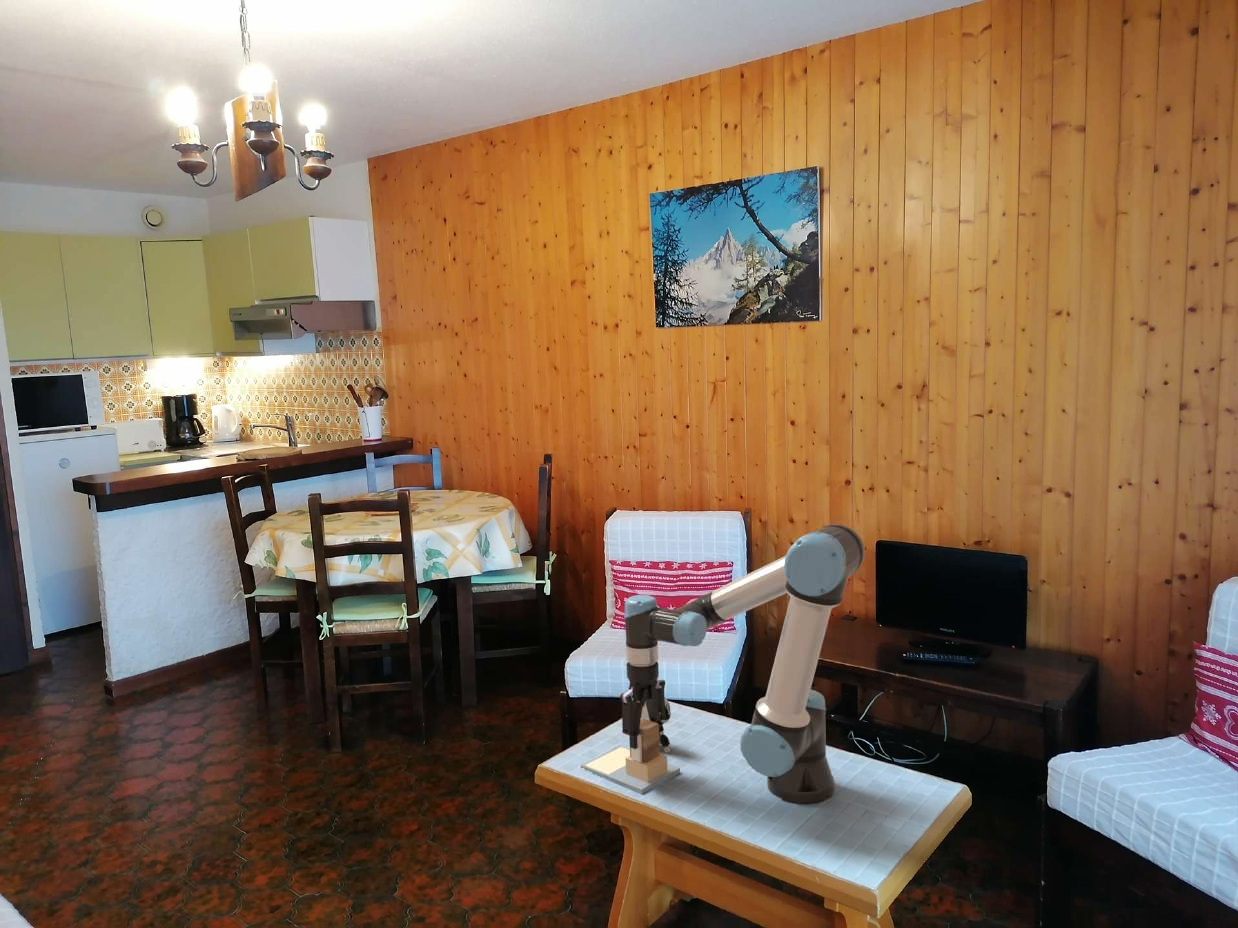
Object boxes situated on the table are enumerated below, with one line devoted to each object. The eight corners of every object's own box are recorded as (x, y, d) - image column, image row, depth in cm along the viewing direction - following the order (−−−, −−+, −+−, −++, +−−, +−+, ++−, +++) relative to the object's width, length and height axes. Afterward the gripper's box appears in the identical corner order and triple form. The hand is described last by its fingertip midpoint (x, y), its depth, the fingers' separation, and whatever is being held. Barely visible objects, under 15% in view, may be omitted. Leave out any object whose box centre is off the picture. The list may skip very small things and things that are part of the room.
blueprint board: (680, 772, 211) (679, 751, 211) (641, 794, 201) (640, 772, 201) (619, 749, 225) (619, 730, 225) (580, 769, 215) (579, 749, 214)
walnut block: (659, 755, 209) (658, 723, 208) (645, 763, 206) (644, 730, 205) (644, 749, 213) (642, 718, 212) (630, 757, 209) (628, 724, 208)
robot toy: (679, 751, 223) (677, 694, 222) (666, 756, 220) (664, 699, 218) (644, 737, 232) (642, 683, 230) (632, 743, 229) (630, 687, 227)
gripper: (655, 648, 215) (658, 738, 218) (603, 668, 202) (607, 764, 205) (679, 654, 210) (682, 746, 213) (627, 675, 197) (630, 774, 200)
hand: (645, 755), depth 209 cm, fingers open, 5 cm apart
